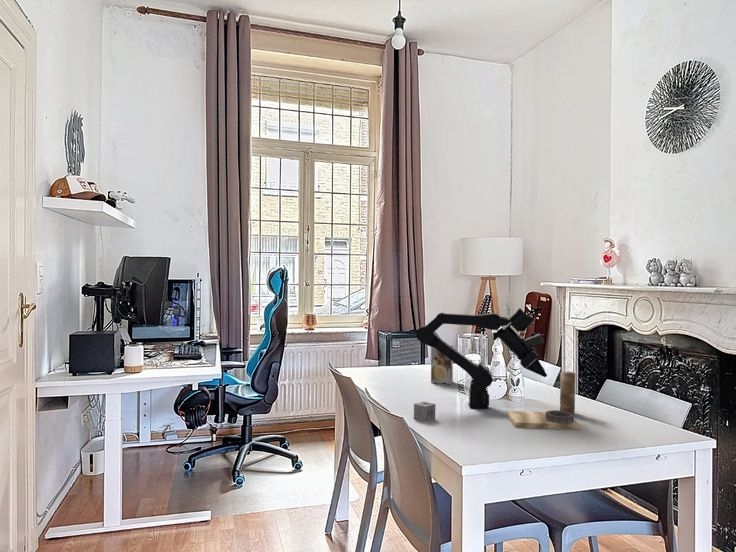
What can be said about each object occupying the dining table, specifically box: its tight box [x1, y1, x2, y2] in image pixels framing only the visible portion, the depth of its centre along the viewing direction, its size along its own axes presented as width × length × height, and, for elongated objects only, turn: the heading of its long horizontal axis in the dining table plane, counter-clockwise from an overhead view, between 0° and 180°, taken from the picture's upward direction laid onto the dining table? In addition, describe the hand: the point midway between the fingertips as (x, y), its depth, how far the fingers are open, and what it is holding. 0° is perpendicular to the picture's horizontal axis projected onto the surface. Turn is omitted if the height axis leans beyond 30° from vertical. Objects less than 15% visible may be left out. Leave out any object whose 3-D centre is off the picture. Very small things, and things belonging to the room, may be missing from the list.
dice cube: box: [413, 401, 436, 423], centre depth 173 cm, size 5×5×5 cm
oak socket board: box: [505, 409, 581, 430], centre depth 171 cm, size 20×14×4 cm
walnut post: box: [559, 371, 576, 416], centre depth 183 cm, size 5×5×14 cm
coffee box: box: [430, 345, 454, 385], centre depth 231 cm, size 9×6×16 cm
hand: (545, 373), depth 184 cm, fingers open, 9 cm apart
